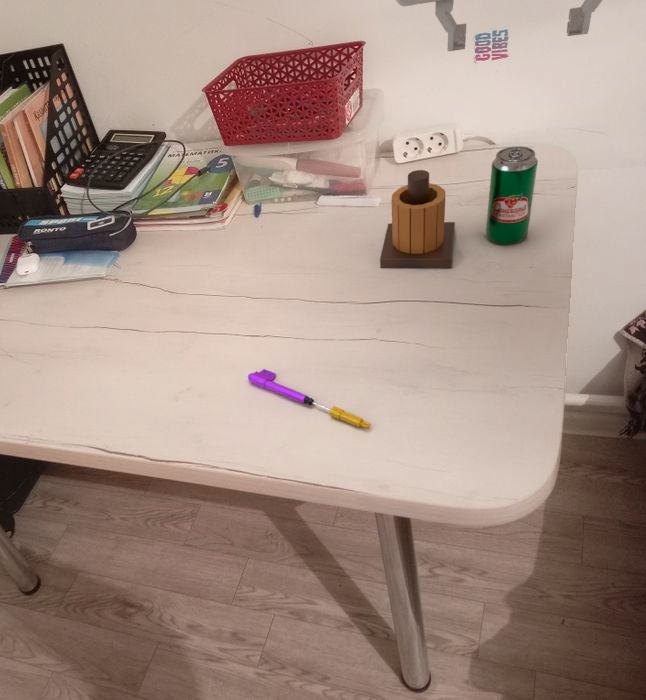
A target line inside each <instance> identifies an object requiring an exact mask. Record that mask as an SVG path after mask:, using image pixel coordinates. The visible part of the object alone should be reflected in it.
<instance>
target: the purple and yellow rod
mask: <svg viewBox="0 0 646 700" xmlns="http://www.w3.org/2000/svg"><path fill="white" fill-rule="evenodd" d="M276 377H277V373H275V372H273V371H270V370H268V369H266V368H263V369H262V370H260V371H254V372H251V373H249V374H248V375H247V379H248V381H249V382H250V383H252V384H255V385H256V386H259V387H261V388H264V389H268V390H270V391H272V392H275V393H278V394H280V395H282V396H285V397H287V398H290V399H292V400H294V401H297V402H299V403H301V404H304V405H308V406H313V405H315V406H317V407H320V408H322V409H324V410H327V411H329V416H330V417H333V418H335V419H337V420H340V421H341V420H342V421H344V422H345V423H346V422H347V423H348V424H351V425H353V426H355V427H358V428H360V427H362V428H365V429H369V428H370V427H371V426H372V423H370V422H367V421H365V420H364V419H363V418H362V417H359V416H357V415H355V414H352V413H350V412H348V411H345V410H344V409H342V408H340V407H338V406H335V405H334V406H332V407H331V408H328V407H326V406H324V405H322V404H319V403H317V402H315V400H314V399H313V398H312V397H309V396H308V395H306V394H304V393H302V392H300V391H298V390H297V391H296V390H295V389H292V388H290V387H288V386H284V385H282V384H280V383H277V382H275V381H273V380H274V379H275V378H276Z"/></svg>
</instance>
